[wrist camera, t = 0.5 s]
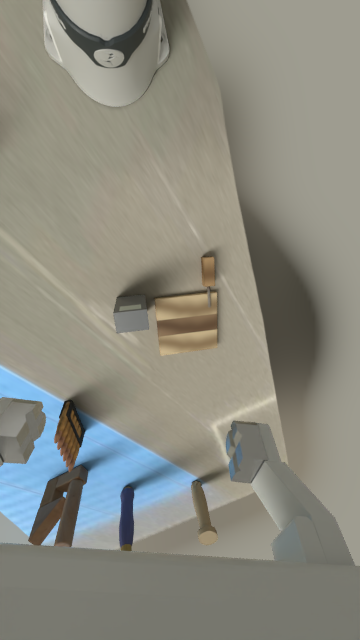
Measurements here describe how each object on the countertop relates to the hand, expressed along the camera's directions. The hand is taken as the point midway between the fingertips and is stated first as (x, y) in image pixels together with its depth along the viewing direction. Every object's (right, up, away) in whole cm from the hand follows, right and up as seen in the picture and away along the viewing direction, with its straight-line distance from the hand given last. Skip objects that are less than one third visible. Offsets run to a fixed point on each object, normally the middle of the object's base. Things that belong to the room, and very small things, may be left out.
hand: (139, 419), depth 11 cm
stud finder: (-9, +8, +44) cm, 46 cm away
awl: (+8, +13, +45) cm, 47 cm away
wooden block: (-30, -39, +59) cm, 77 cm away
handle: (+7, -48, +69) cm, 85 cm away
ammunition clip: (-25, -20, +53) cm, 62 cm away
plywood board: (+3, +4, +48) cm, 48 cm away
